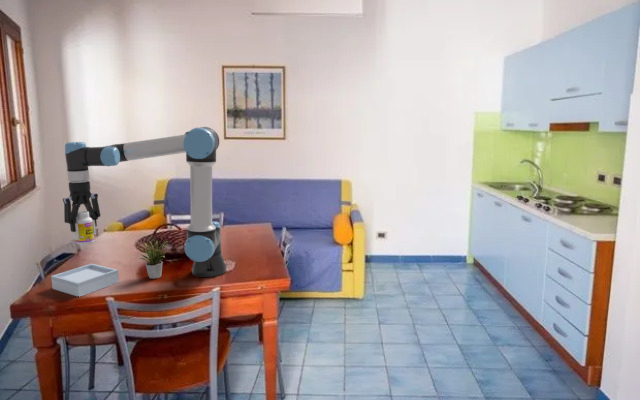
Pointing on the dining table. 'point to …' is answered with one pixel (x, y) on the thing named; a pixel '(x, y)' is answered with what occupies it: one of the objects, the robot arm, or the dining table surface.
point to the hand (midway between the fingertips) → (85, 236)
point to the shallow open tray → (85, 279)
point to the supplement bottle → (85, 228)
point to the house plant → (154, 260)
